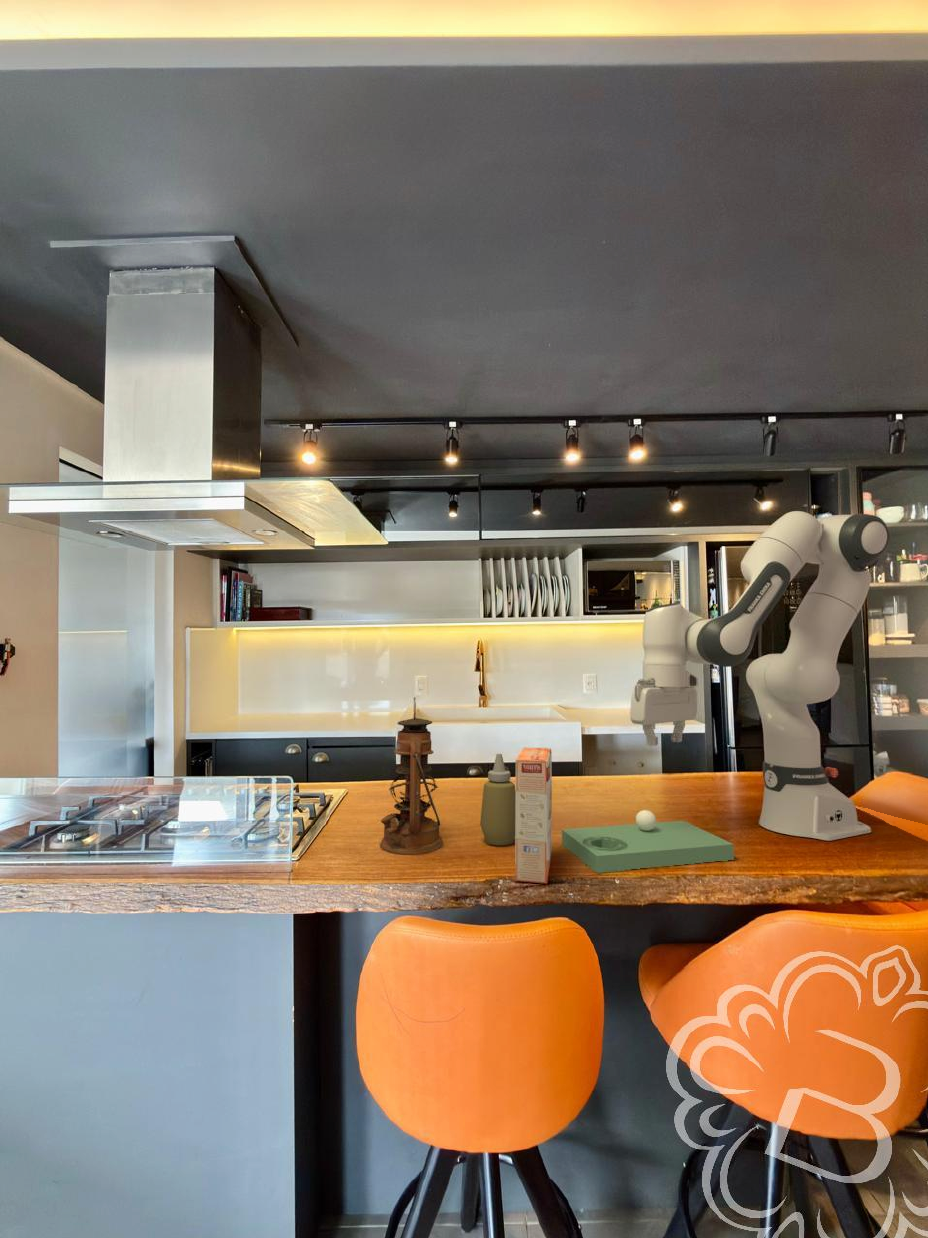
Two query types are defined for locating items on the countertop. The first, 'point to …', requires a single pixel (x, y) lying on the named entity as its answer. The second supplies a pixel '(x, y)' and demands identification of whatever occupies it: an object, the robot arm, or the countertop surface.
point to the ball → (645, 820)
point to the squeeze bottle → (498, 806)
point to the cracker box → (533, 815)
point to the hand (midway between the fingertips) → (664, 743)
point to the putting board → (645, 846)
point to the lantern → (412, 794)
